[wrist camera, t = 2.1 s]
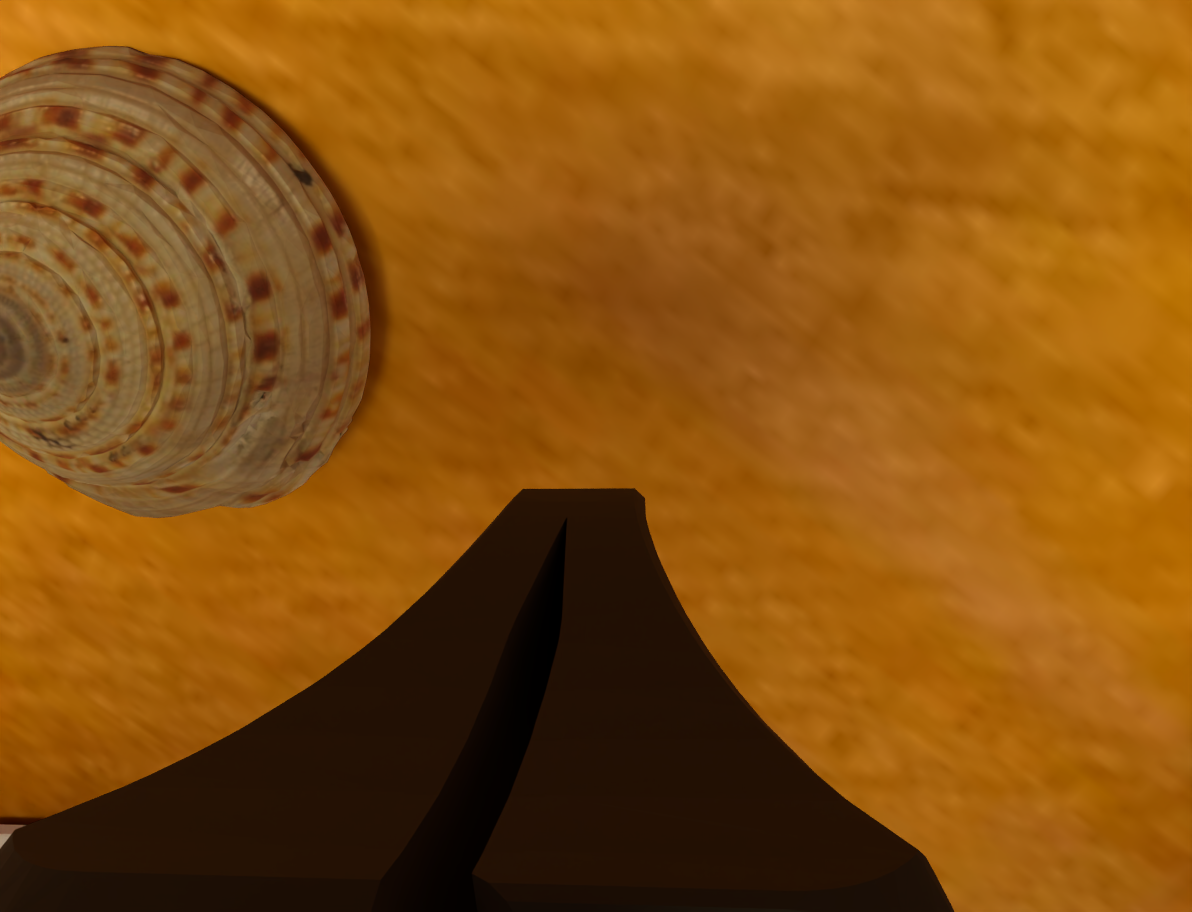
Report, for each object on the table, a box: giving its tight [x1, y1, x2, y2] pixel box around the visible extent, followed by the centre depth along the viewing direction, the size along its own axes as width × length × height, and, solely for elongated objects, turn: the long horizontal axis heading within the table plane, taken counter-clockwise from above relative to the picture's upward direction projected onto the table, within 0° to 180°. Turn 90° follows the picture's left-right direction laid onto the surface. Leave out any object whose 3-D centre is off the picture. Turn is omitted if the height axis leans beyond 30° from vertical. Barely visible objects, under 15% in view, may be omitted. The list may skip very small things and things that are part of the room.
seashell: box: [0, 46, 371, 518], centre depth 21 cm, size 8×6×8 cm
